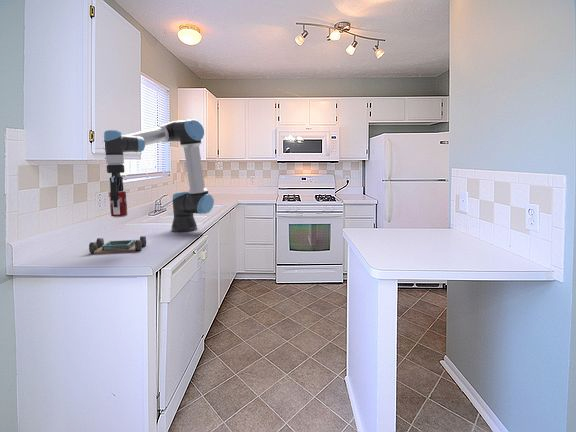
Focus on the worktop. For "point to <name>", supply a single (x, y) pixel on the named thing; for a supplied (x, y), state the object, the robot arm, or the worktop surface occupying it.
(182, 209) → the robot arm
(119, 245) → the chassis
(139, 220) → the worktop surface
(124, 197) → the soda can
